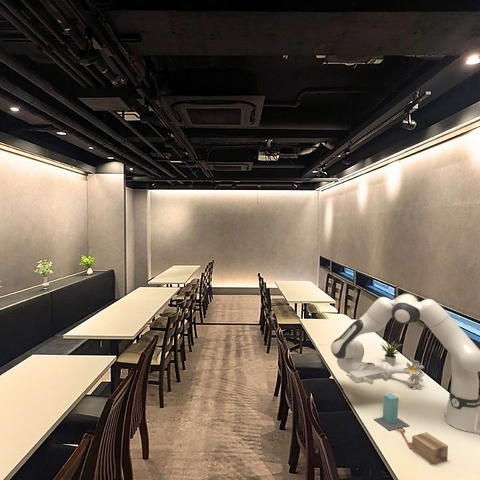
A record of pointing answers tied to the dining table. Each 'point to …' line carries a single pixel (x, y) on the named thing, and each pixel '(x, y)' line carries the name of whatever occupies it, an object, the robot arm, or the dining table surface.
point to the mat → (391, 426)
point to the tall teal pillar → (390, 408)
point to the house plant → (390, 353)
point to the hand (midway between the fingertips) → (379, 380)
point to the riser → (429, 448)
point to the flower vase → (406, 372)
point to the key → (404, 437)
